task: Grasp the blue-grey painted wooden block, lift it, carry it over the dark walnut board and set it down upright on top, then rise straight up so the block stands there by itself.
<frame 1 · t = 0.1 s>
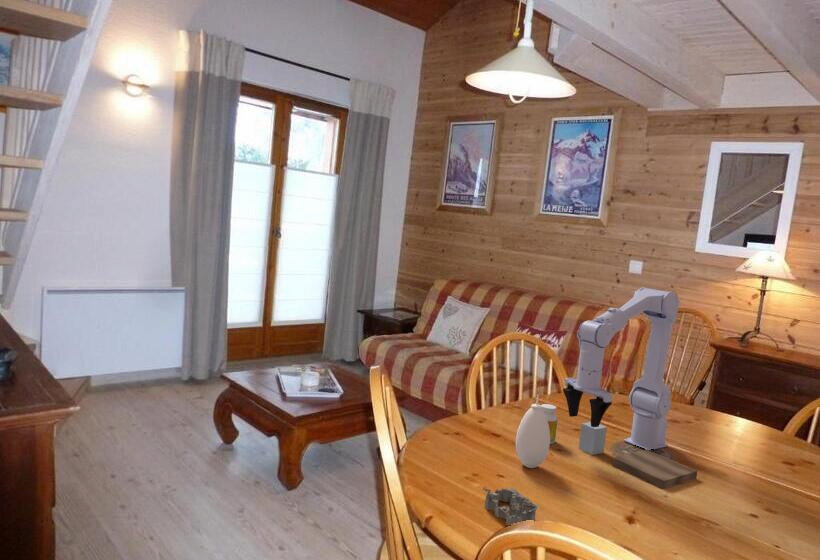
hand: (583, 421, 149), 10 cm above the table, fingers open, 7 cm apart
grey hollow block: (509, 515, 118), on the table
supplement bottle: (544, 441, 161), on the table
walnut board: (653, 472, 146), on the table
blue-grey block: (591, 450, 157), on the table
sauce bottle: (529, 467, 142), on the table
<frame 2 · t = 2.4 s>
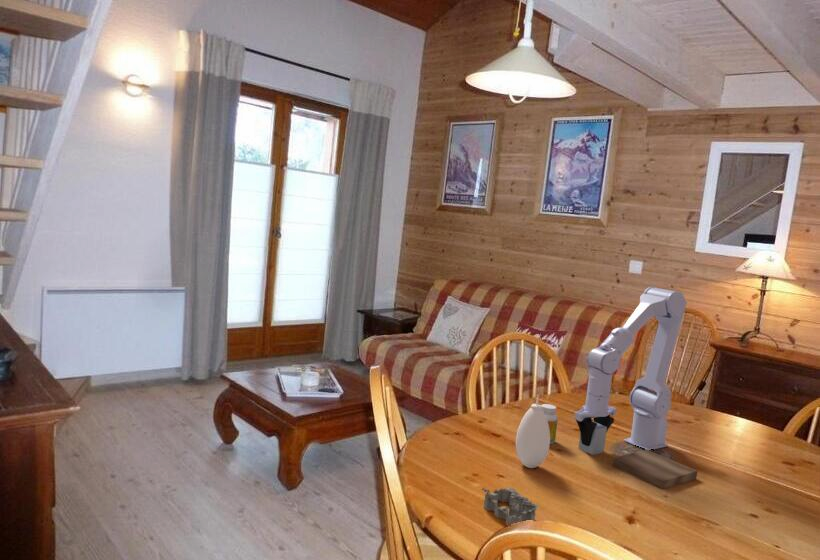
hand: (591, 443, 157), 2 cm above the table, fingers closed on blue-grey block, 5 cm apart
blue-grey block: (591, 450, 157), on the table, touching gripper
everything else where it was.
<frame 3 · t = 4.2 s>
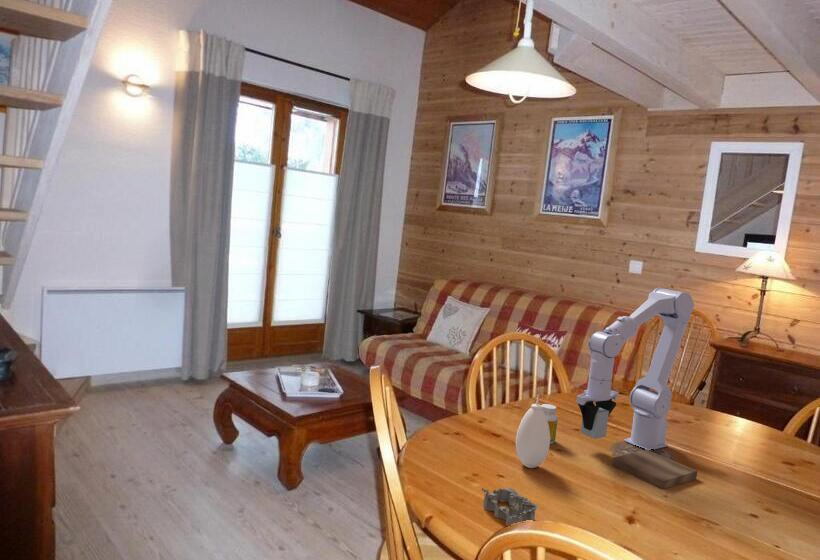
hand: (594, 427, 156), 6 cm above the table, fingers closed on blue-grey block, 5 cm apart
blue-grey block: (593, 434, 156), point 4 cm above the table, touching gripper
everything else where it was.
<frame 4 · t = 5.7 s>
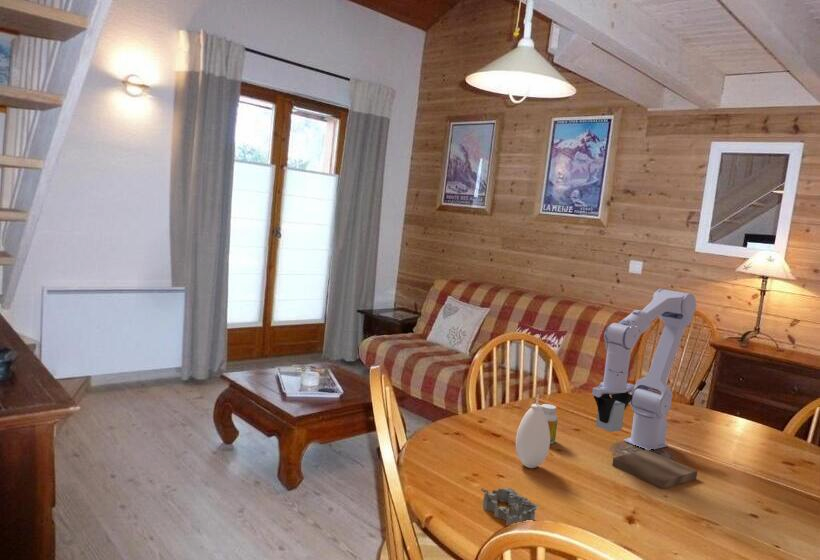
hand: (609, 420, 153), 9 cm above the table, fingers closed on blue-grey block, 5 cm apart
blue-grey block: (608, 427, 153), point 7 cm above the table, touching gripper
everything else where it was.
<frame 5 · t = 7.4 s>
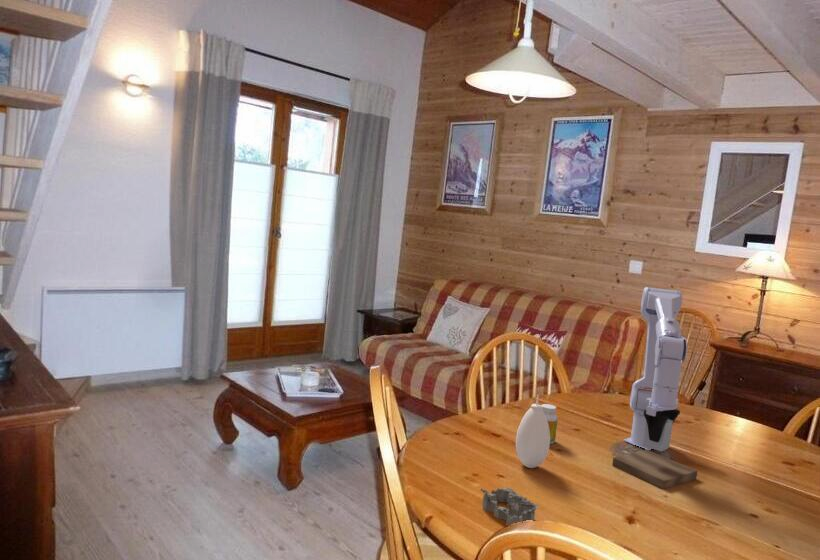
hand: (658, 438, 145), 9 cm above the table, fingers closed on blue-grey block, 5 cm apart
blue-grey block: (656, 446, 145), point 7 cm above the table, touching gripper
everything else where it was.
when the fingers open (5 cm above the table, at t = 9.0 s): blue-grey block stays where it is, resting on walnut board.
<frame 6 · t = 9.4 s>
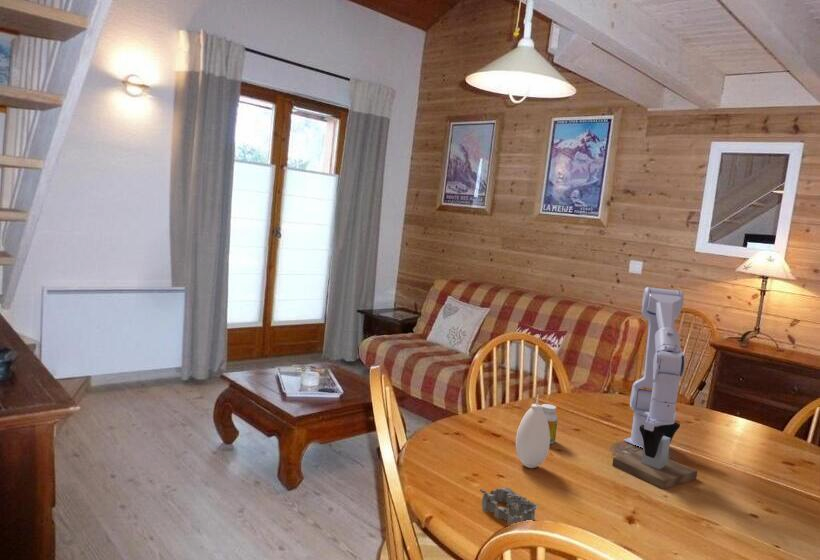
hand: (656, 453, 145), 5 cm above the table, fingers open, 7 cm apart
blue-grey block: (653, 463, 146), point 2 cm above the table, touching walnut board
everything else where it was.
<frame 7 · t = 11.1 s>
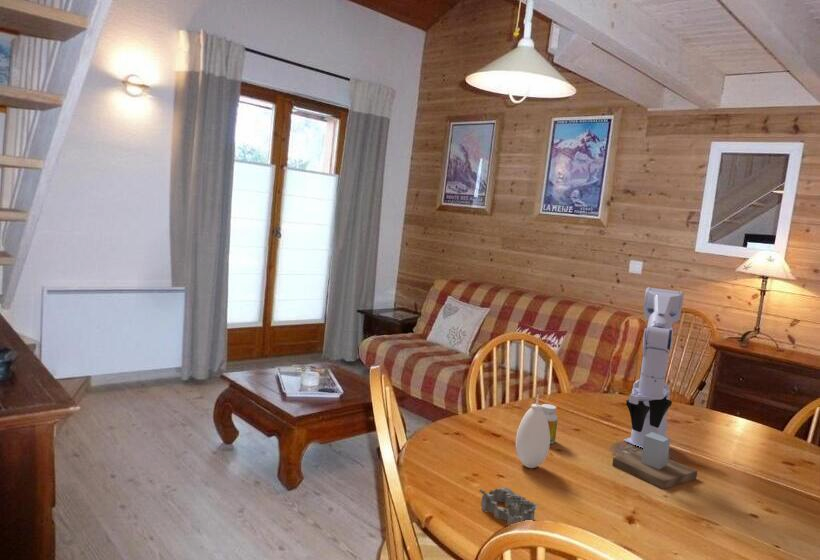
hand: (645, 428, 146), 10 cm above the table, fingers open, 7 cm apart
nothing on the table moved.
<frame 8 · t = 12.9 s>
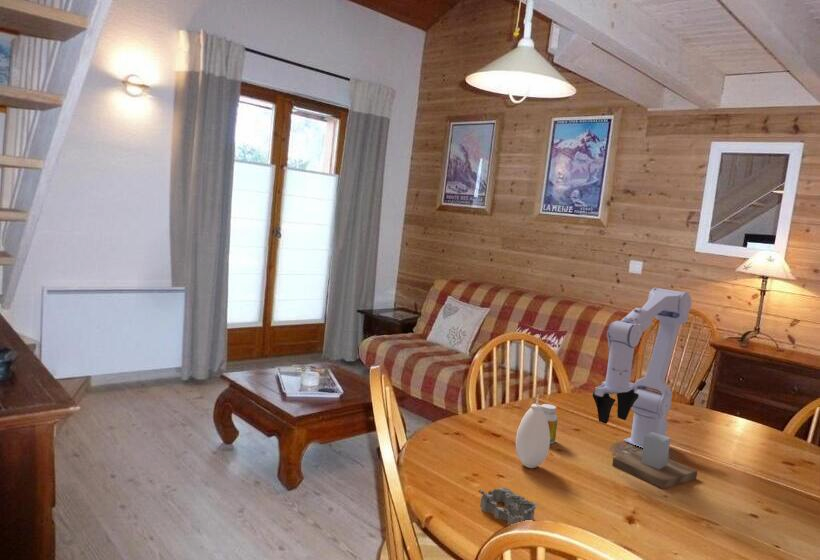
hand: (612, 420, 150), 10 cm above the table, fingers open, 7 cm apart
nothing on the table moved.
at the end: blue-grey block inside the target area on the walnut board (0.2 cm from its centre), point 2.0 cm above the walnut board's base; blue-grey block tilted 0°; the gripper is holding nothing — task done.
